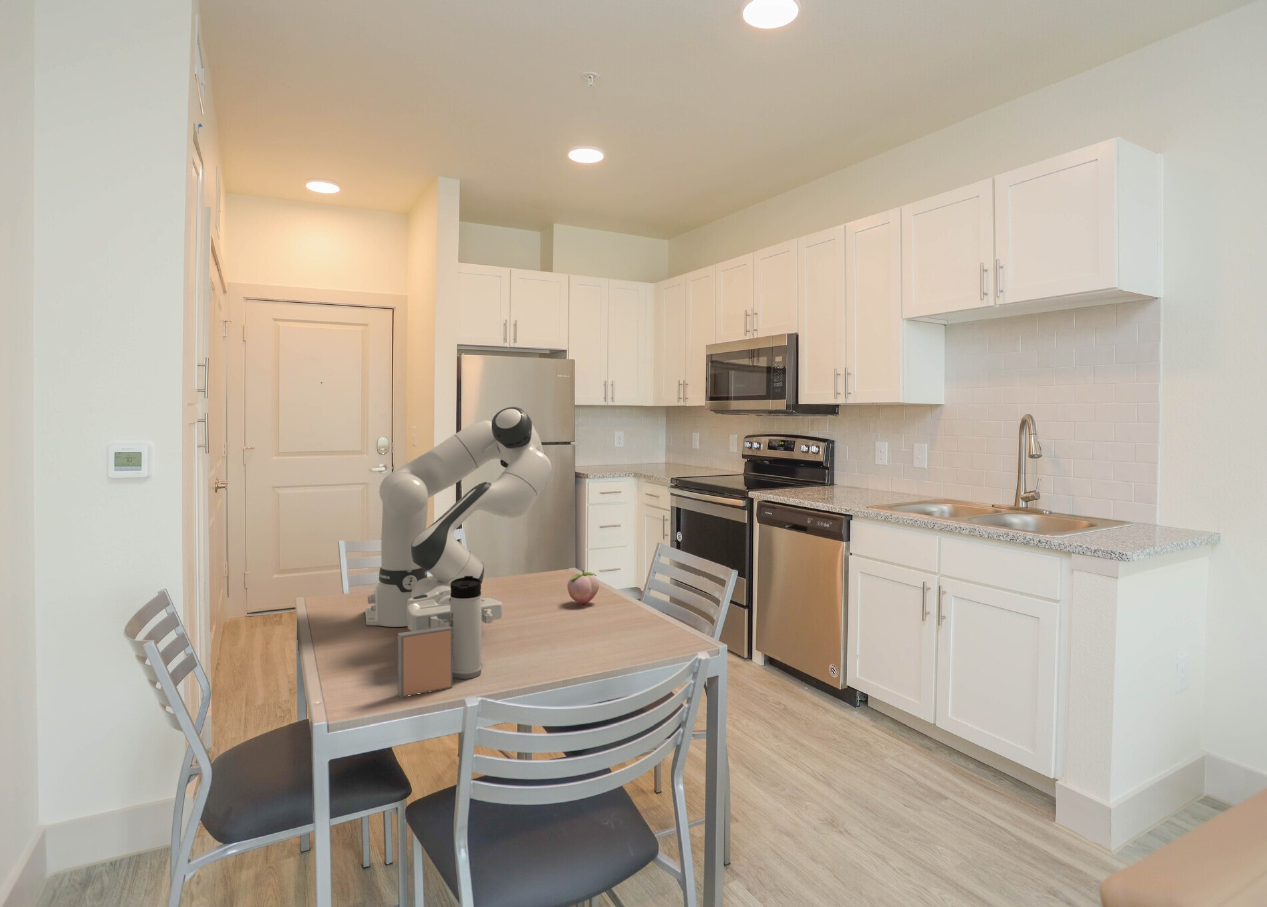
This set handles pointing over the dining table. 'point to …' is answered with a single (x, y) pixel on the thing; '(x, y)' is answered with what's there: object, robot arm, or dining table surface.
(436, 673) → the tile
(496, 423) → the robot arm
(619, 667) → the dining table surface
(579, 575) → the decorative fruit
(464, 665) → the travel mug
